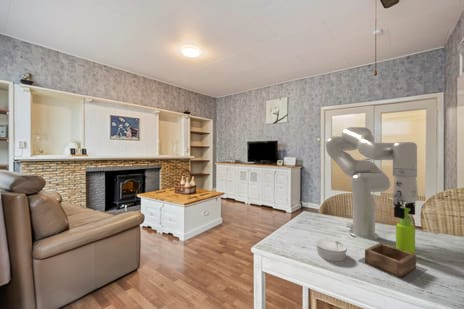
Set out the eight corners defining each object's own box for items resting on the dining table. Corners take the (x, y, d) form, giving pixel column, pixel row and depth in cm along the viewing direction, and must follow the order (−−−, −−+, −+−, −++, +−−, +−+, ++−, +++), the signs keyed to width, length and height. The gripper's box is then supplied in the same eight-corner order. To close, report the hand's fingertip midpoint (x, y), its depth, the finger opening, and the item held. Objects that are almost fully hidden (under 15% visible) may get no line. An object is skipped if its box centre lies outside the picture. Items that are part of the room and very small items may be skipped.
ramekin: (353, 263, 81) (353, 249, 80) (327, 266, 78) (327, 252, 78) (333, 249, 92) (333, 237, 91) (310, 252, 89) (310, 240, 89)
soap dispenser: (393, 251, 89) (394, 205, 89) (415, 257, 84) (416, 208, 84) (391, 256, 85) (391, 207, 85) (413, 263, 80) (414, 211, 80)
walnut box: (364, 262, 79) (365, 249, 79) (380, 255, 85) (380, 242, 84) (401, 278, 69) (401, 263, 69) (415, 268, 75) (416, 254, 75)
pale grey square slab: (357, 263, 80) (357, 260, 80) (377, 253, 88) (377, 251, 88) (409, 286, 67) (409, 283, 67) (427, 272, 74) (427, 269, 74)
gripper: (406, 175, 76) (406, 222, 76) (425, 172, 85) (425, 215, 85) (383, 173, 83) (383, 216, 83) (402, 171, 92) (403, 210, 92)
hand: (404, 215), depth 84 cm, fingers open, 9 cm apart
